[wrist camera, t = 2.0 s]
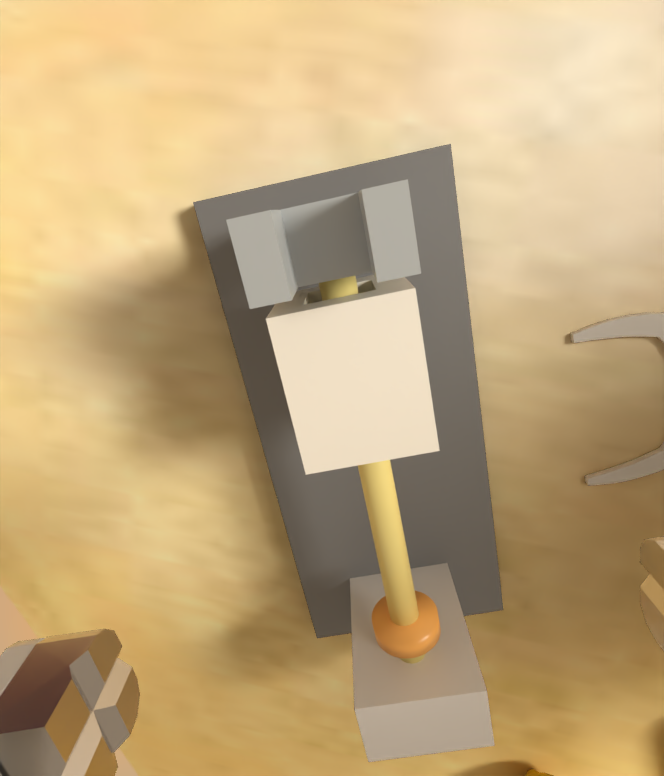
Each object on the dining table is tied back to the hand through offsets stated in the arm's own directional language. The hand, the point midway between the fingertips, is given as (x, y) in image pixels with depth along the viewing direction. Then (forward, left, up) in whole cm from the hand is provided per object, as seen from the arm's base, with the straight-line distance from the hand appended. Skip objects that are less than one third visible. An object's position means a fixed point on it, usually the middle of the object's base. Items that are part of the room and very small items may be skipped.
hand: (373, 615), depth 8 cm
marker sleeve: (0, 0, -15) cm, 15 cm away
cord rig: (0, +6, -20) cm, 20 cm away
